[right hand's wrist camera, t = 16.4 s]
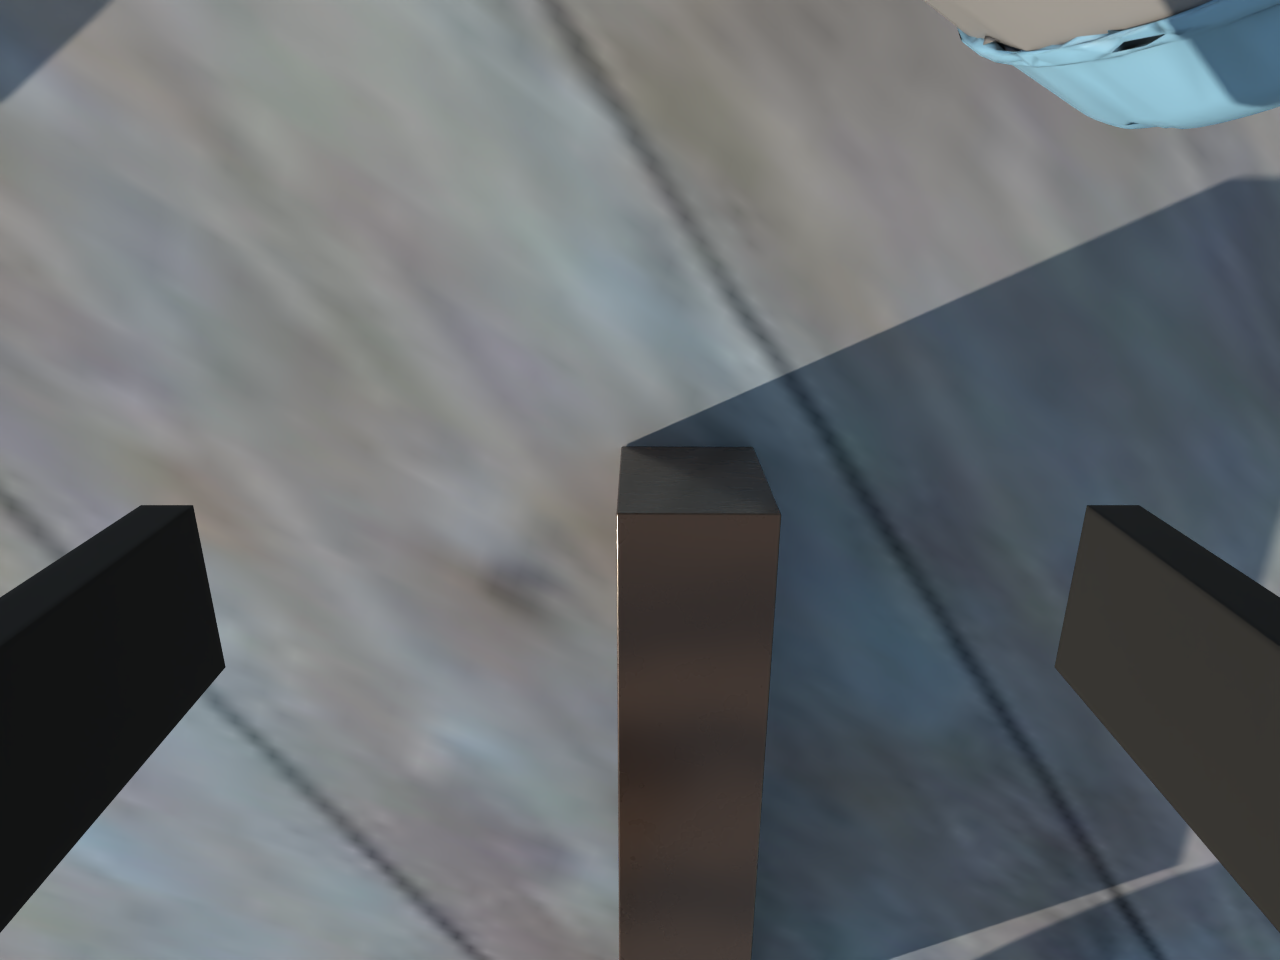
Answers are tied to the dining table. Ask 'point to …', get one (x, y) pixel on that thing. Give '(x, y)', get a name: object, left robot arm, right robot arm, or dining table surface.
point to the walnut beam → (692, 696)
